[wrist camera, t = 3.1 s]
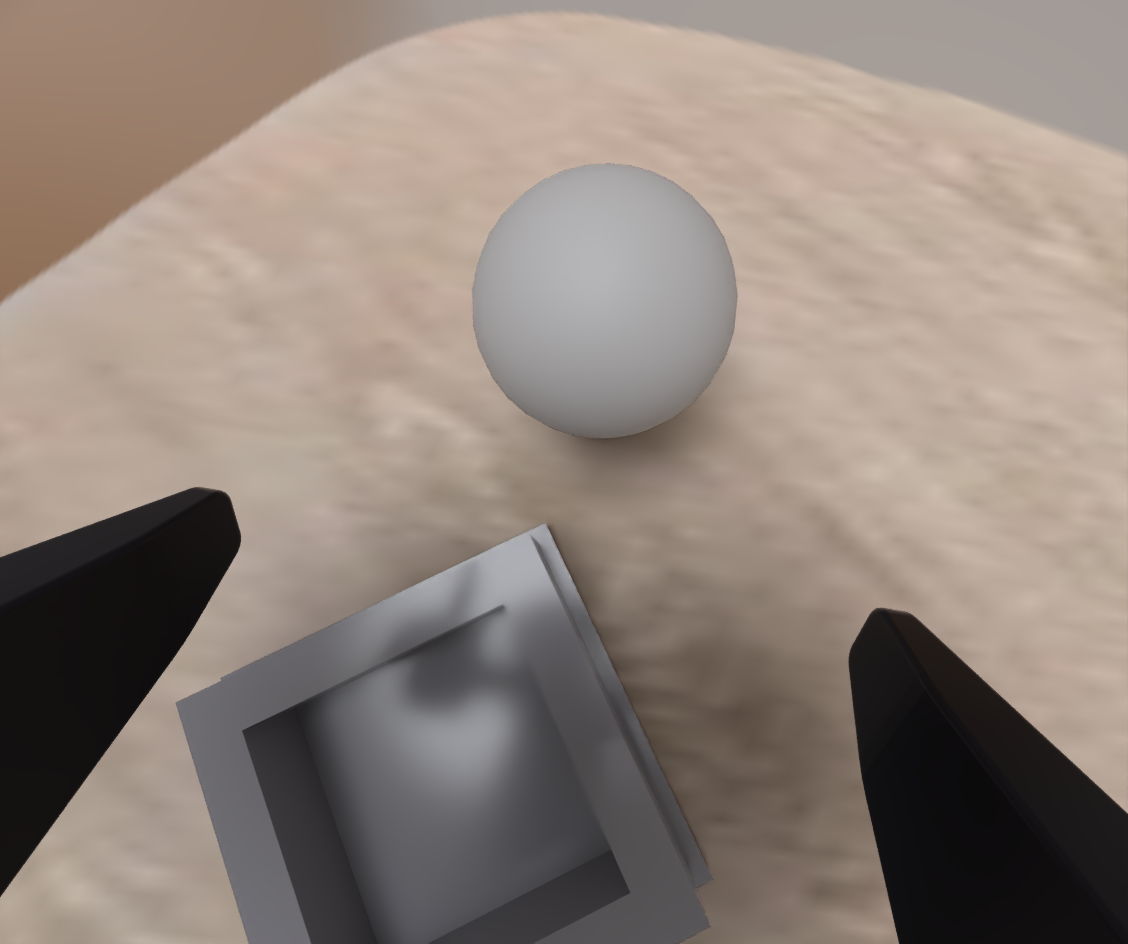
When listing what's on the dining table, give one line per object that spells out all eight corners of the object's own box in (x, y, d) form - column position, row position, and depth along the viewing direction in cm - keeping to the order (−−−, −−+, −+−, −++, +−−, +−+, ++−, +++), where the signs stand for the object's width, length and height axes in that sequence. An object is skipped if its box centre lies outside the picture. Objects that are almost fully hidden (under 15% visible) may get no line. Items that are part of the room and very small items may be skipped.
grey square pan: (859, 1190, 16) (939, 1366, 13) (475, 1404, 16) (439, 1655, 12) (546, 525, 21) (537, 510, 17) (234, 674, 20) (153, 693, 16)
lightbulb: (713, 437, 21) (843, 276, 10) (569, 524, 21) (548, 451, 10) (623, 307, 22) (656, 39, 11) (486, 386, 22) (385, 186, 11)
